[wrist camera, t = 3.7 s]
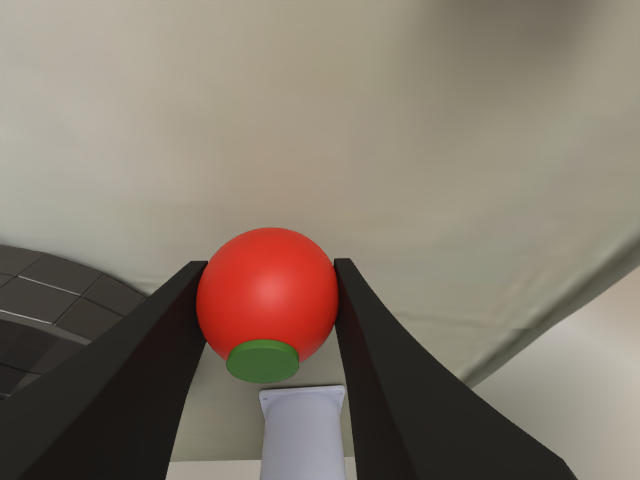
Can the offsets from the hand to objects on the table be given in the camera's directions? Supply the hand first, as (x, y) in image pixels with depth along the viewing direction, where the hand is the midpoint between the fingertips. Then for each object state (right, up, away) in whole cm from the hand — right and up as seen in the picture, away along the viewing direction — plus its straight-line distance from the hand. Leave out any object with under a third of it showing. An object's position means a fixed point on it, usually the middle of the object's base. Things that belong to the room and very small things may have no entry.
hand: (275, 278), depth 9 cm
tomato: (0, +1, +1) cm, 2 cm away
